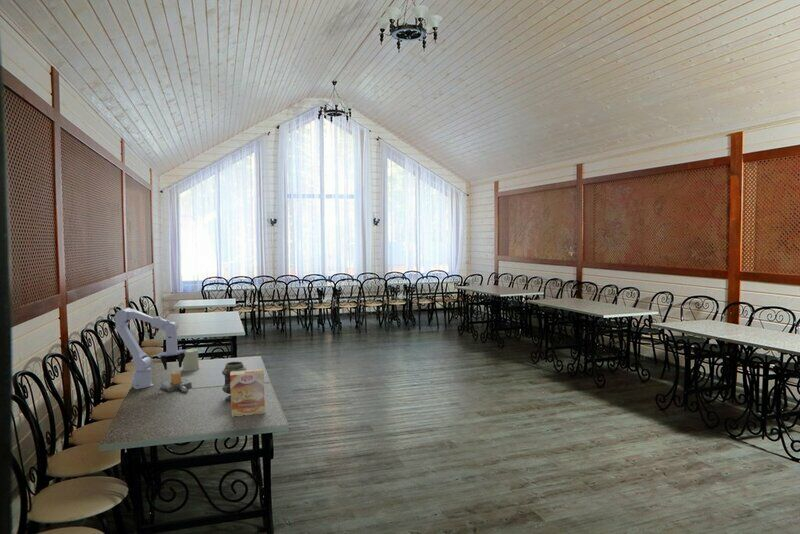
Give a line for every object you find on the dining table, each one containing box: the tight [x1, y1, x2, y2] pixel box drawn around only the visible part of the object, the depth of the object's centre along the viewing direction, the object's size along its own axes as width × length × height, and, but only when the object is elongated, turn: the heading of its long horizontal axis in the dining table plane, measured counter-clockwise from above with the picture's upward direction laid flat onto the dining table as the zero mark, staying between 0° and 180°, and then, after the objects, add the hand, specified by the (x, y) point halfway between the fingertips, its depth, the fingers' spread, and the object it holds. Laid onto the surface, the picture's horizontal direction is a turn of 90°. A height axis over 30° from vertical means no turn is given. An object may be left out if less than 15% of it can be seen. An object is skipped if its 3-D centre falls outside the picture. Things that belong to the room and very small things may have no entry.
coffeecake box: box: [230, 368, 266, 418], centre depth 255 cm, size 15×7×20 cm, turn 106°
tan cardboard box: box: [170, 371, 182, 385], centre depth 299 cm, size 4×4×8 cm
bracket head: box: [160, 378, 193, 394], centre depth 296 cm, size 12×20×2 cm, turn 41°
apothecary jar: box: [221, 360, 248, 402], centre depth 277 cm, size 12×12×18 cm
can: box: [182, 348, 200, 372], centre depth 336 cm, size 9×9×12 cm
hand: (172, 368), depth 303 cm, fingers open, 7 cm apart
